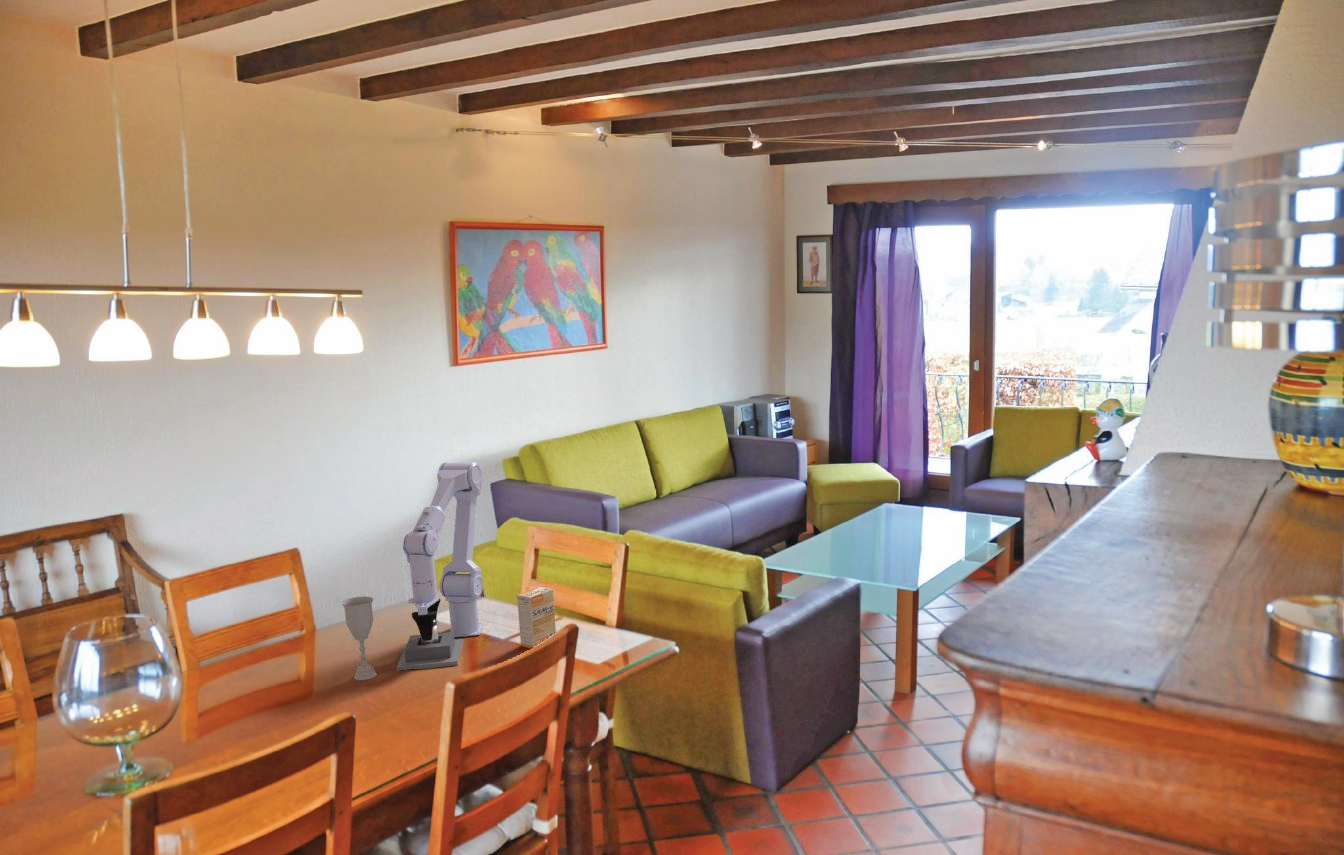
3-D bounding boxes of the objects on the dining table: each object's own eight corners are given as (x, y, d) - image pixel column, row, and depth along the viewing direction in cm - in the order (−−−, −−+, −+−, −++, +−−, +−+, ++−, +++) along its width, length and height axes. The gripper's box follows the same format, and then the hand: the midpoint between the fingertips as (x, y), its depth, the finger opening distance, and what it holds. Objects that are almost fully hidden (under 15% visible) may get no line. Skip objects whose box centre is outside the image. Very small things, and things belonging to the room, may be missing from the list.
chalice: (342, 679, 233) (334, 603, 231) (364, 668, 239) (356, 595, 237) (366, 683, 230) (358, 606, 227) (387, 672, 236) (380, 598, 233)
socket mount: (406, 648, 252) (404, 632, 251) (463, 642, 253) (461, 627, 253) (396, 671, 236) (395, 654, 236) (457, 665, 238) (456, 648, 237)
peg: (424, 650, 246) (421, 618, 245) (440, 648, 247) (437, 617, 246) (421, 655, 243) (418, 623, 241) (438, 654, 243) (435, 622, 242)
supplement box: (534, 649, 245) (529, 597, 243) (520, 646, 248) (515, 594, 246) (557, 639, 251) (553, 588, 250) (543, 636, 254) (539, 585, 253)
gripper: (410, 573, 249) (416, 626, 251) (402, 590, 235) (408, 646, 236) (439, 571, 250) (444, 624, 251) (433, 587, 235) (438, 643, 237)
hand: (429, 634), depth 244 cm, fingers open, 7 cm apart
